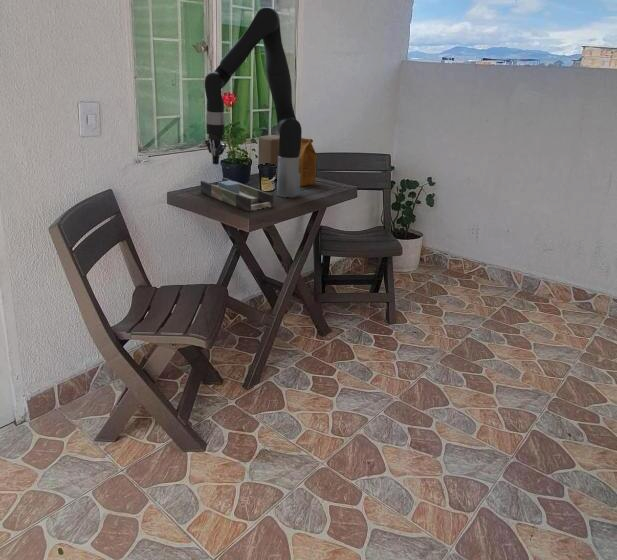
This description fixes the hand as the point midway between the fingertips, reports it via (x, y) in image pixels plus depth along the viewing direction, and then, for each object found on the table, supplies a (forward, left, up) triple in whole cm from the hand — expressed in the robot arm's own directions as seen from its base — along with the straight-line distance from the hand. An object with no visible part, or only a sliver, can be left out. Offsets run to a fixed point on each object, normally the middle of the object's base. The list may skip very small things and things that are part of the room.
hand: (215, 164), depth 240 cm
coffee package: (-43, +8, -13) cm, 46 cm away
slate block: (0, +10, -10) cm, 14 cm away
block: (-38, -9, -13) cm, 41 cm away
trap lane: (0, +15, -12) cm, 19 cm away
